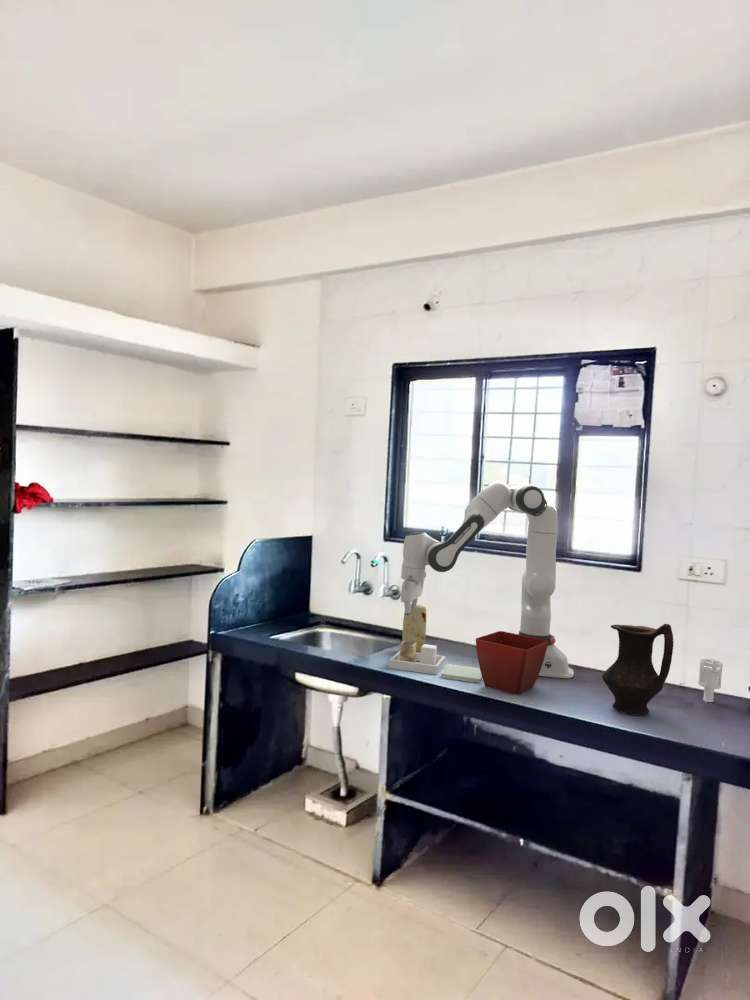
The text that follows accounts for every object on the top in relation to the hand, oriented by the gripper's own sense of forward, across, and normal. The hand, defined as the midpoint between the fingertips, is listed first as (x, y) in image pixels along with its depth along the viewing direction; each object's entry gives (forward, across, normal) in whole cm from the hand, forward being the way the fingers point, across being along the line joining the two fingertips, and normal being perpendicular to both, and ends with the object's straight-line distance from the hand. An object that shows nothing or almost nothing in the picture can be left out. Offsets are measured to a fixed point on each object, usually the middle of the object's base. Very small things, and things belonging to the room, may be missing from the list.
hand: (410, 611), depth 259 cm
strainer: (+20, +7, -105) cm, 107 cm away
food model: (+20, +18, +2) cm, 27 cm away
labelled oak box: (+20, 0, 0) cm, 20 cm away
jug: (+20, -18, -79) cm, 84 cm away
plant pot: (+20, -11, -39) cm, 45 cm away
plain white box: (+20, 0, -8) cm, 22 cm away
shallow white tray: (+20, 0, -4) cm, 21 cm away
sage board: (+20, -4, -22) cm, 30 cm away
